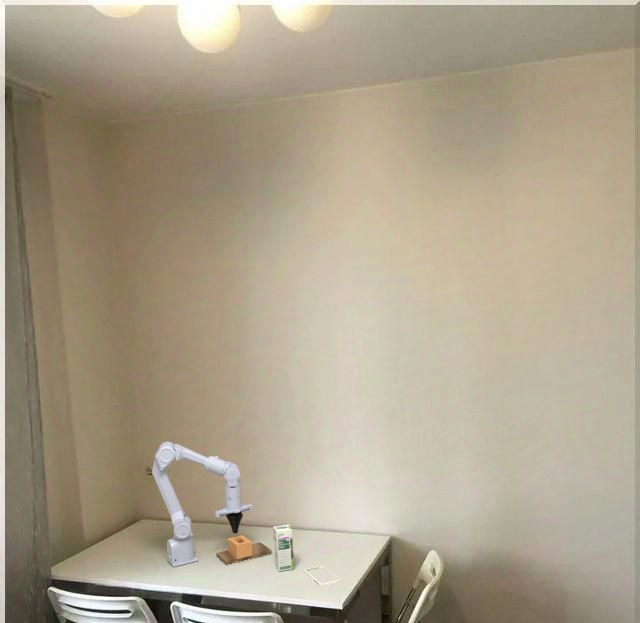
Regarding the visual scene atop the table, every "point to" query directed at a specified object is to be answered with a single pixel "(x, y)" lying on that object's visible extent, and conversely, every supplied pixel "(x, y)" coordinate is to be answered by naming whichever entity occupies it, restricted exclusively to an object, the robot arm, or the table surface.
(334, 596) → the table surface
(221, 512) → the robot arm
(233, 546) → the collar
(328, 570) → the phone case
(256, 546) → the brown piece
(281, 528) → the syrup box
